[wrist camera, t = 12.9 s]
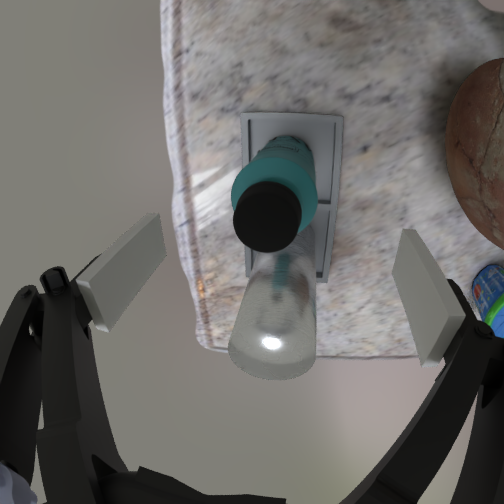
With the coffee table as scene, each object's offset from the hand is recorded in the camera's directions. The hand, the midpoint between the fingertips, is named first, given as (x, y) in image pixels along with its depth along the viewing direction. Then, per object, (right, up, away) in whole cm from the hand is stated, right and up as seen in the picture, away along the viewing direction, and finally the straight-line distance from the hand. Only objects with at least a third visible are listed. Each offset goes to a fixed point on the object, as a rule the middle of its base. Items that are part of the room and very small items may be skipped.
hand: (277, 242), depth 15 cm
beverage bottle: (+3, +11, +19) cm, 22 cm away
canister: (+4, +1, +24) cm, 24 cm away
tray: (+4, +6, +22) cm, 23 cm away
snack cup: (+40, -5, +22) cm, 46 cm away
